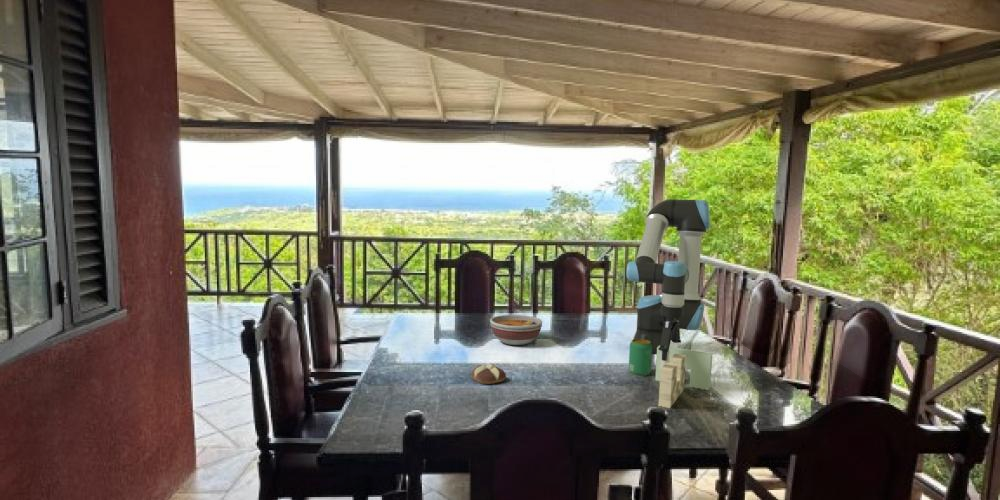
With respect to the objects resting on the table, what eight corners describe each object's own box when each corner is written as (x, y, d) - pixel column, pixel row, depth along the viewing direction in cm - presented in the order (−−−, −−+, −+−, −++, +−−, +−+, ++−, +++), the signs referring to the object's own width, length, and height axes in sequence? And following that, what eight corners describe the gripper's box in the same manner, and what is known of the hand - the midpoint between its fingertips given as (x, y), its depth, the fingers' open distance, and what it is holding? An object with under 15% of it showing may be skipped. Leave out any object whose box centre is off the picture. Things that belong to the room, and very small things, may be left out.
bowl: (550, 341, 245) (551, 319, 244) (525, 352, 225) (525, 328, 224) (507, 333, 257) (507, 312, 256) (479, 343, 237) (479, 320, 236)
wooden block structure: (673, 387, 188) (675, 353, 187) (683, 389, 186) (685, 355, 185) (658, 405, 171) (660, 368, 169) (669, 408, 169) (672, 370, 168)
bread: (467, 376, 194) (468, 363, 193) (497, 373, 198) (497, 360, 198) (479, 387, 183) (479, 372, 183) (510, 383, 188) (510, 369, 187)
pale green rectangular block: (655, 380, 195) (657, 347, 194) (657, 377, 198) (659, 345, 197) (708, 390, 186) (710, 355, 185) (710, 387, 189) (712, 353, 188)
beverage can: (635, 368, 209) (637, 337, 207) (654, 373, 203) (656, 341, 202) (624, 372, 203) (625, 340, 202) (643, 377, 197) (645, 345, 196)
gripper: (670, 299, 205) (666, 355, 206) (652, 309, 183) (648, 371, 185) (690, 301, 201) (687, 358, 203) (675, 312, 179) (671, 375, 181)
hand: (668, 364), depth 194 cm, fingers open, 13 cm apart
